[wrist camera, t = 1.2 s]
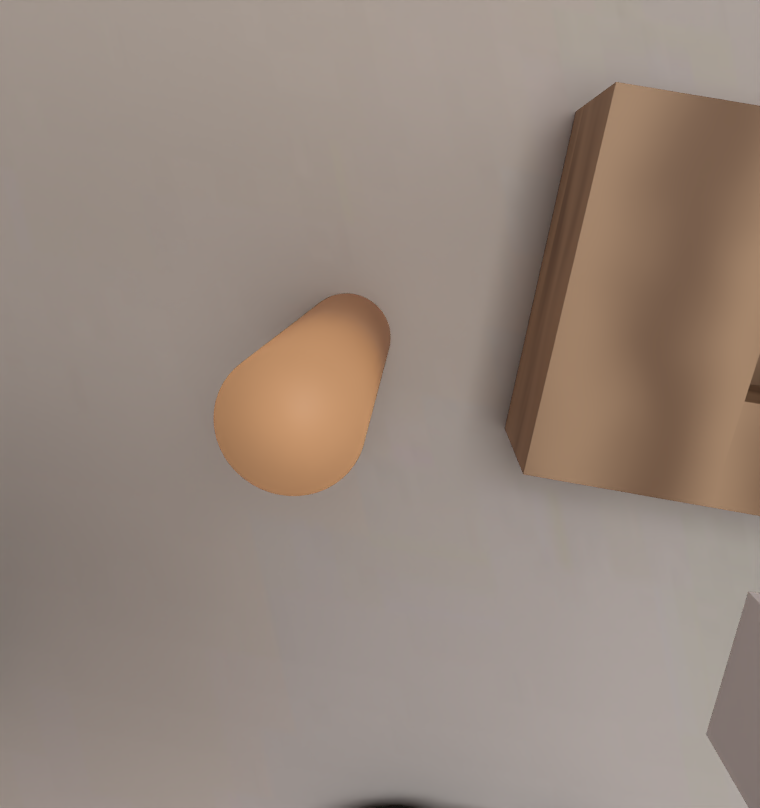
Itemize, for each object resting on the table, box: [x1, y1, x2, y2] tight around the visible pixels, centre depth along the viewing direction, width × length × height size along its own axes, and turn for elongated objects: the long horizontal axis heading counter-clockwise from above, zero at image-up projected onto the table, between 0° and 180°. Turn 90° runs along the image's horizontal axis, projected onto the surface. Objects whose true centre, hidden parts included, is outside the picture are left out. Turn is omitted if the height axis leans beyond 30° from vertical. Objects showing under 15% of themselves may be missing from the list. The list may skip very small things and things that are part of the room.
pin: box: [214, 294, 390, 496], centre depth 24 cm, size 4×4×14 cm
